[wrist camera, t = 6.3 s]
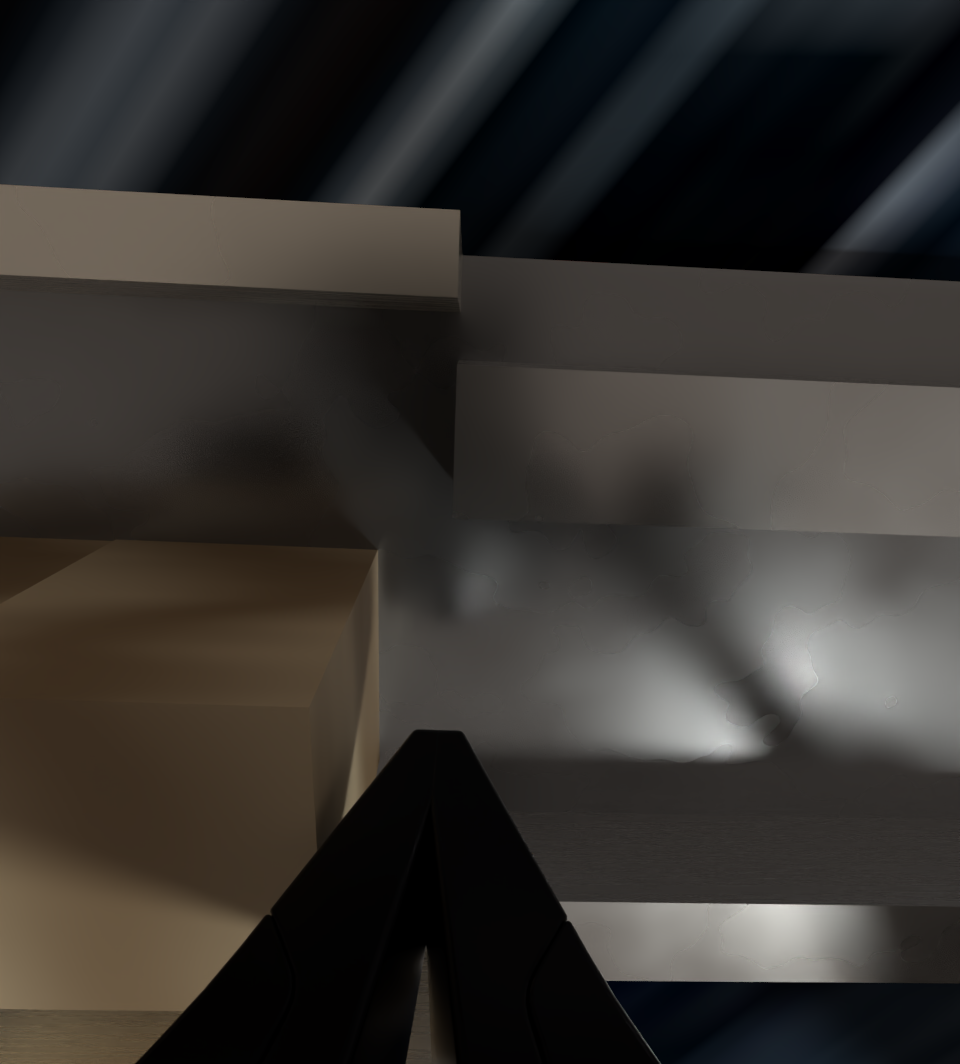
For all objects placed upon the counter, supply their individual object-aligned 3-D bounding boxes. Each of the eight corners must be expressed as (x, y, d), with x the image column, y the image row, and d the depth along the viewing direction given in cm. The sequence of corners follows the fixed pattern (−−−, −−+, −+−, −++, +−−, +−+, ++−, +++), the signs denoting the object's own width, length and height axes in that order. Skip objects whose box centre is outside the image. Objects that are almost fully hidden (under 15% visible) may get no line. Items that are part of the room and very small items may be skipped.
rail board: (1433, 311, 10) (1972, 294, 6) (1104, 913, 14) (1310, 1098, 11) (-431, 213, 8) (-1034, 127, 5) (-145, 899, 13) (-364, 1098, 10)
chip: (377, 549, 10) (309, 707, 6) (379, 759, 11) (325, 1012, 7) (116, 538, 10) (-162, 693, 5) (151, 753, 11) (-46, 1009, 7)
